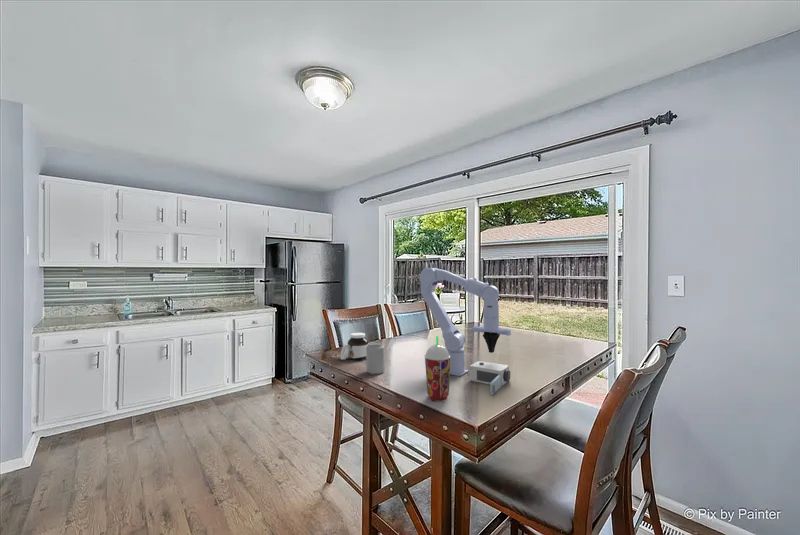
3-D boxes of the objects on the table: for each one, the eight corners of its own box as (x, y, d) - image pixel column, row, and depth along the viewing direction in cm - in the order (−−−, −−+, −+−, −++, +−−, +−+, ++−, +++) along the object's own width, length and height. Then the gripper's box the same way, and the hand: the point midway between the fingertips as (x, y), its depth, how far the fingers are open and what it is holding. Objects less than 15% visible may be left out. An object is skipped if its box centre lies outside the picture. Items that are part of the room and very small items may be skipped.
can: (373, 376, 134) (373, 345, 134) (362, 372, 139) (362, 342, 139) (388, 372, 139) (388, 342, 139) (377, 368, 144) (377, 340, 144)
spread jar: (371, 358, 160) (371, 333, 160) (353, 363, 152) (352, 337, 152) (354, 354, 168) (354, 331, 168) (336, 359, 160) (335, 334, 160)
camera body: (469, 380, 127) (469, 364, 127) (478, 374, 134) (478, 359, 134) (504, 387, 119) (504, 369, 119) (512, 381, 126) (512, 364, 126)
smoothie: (455, 401, 107) (454, 337, 107) (430, 404, 105) (430, 339, 105) (444, 392, 115) (443, 333, 116) (421, 395, 113) (420, 334, 113)
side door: (494, 395, 110) (494, 383, 111) (489, 394, 111) (489, 383, 111) (503, 385, 120) (503, 374, 120) (499, 385, 120) (498, 374, 120)
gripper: (469, 316, 133) (469, 351, 133) (506, 319, 124) (506, 357, 124) (476, 314, 138) (477, 348, 138) (512, 317, 130) (512, 353, 130)
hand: (491, 352), depth 132 cm, fingers closed
